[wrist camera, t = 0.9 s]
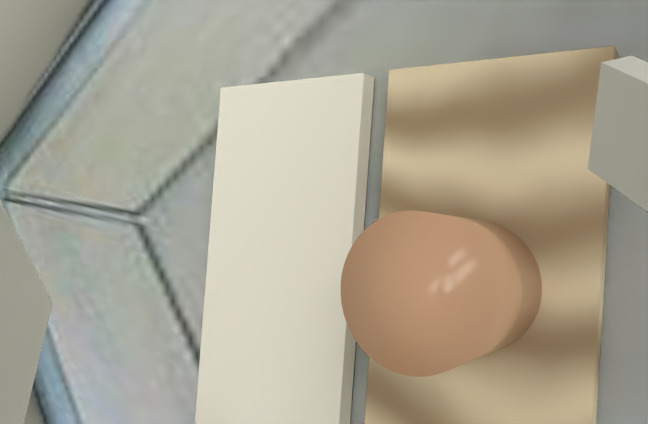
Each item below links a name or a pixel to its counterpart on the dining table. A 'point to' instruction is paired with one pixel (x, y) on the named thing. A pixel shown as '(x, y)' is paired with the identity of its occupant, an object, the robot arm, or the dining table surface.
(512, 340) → the tan rounded cylinder
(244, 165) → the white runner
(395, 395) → the oak runner
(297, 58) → the dining table surface
